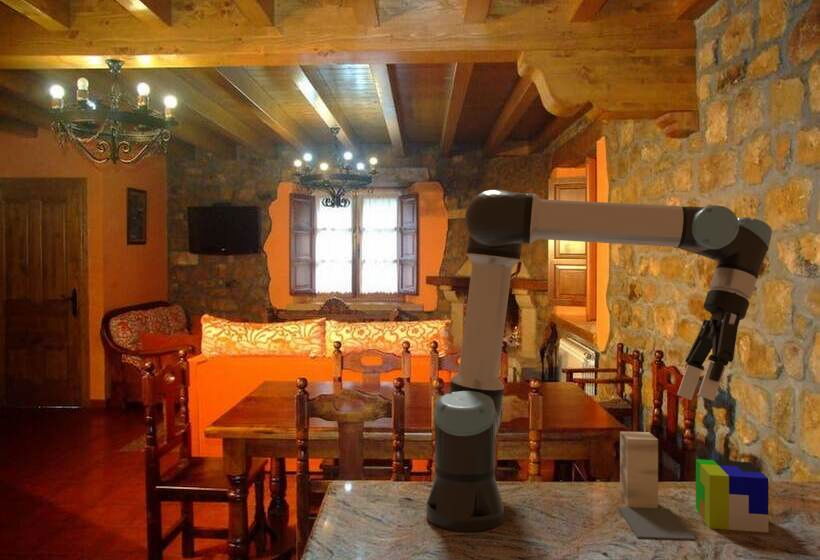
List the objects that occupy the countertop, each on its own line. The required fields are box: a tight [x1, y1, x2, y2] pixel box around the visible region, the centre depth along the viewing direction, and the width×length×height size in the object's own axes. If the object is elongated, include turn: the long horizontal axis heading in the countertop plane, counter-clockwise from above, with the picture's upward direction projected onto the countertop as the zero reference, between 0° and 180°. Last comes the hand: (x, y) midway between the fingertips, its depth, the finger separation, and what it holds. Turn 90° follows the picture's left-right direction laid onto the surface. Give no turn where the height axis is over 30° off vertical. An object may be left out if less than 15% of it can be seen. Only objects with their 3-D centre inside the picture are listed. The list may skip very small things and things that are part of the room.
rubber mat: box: [617, 506, 696, 541], centre depth 116 cm, size 14×10×1 cm
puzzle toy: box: [695, 458, 769, 533], centre depth 118 cm, size 10×10×10 cm
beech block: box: [619, 431, 659, 508], centre depth 127 cm, size 6×6×14 cm
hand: (694, 397), depth 117 cm, fingers open, 13 cm apart
